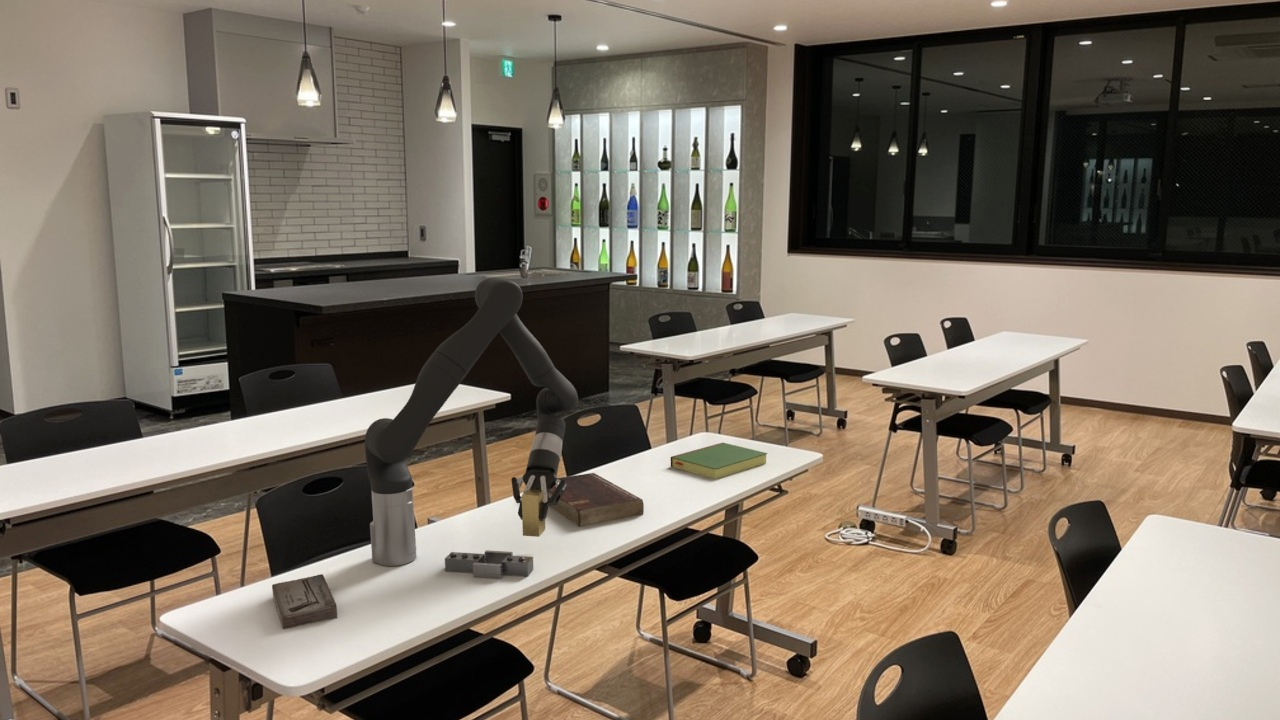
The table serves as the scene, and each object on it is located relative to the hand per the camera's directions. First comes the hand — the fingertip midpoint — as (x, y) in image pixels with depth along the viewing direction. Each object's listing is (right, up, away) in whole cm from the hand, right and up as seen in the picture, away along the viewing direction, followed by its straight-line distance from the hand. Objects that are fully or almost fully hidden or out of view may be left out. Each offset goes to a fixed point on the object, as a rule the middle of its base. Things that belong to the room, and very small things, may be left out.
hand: (531, 518), depth 220 cm
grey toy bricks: (-8, -10, -8) cm, 15 cm away
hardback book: (+11, -3, +37) cm, 38 cm away
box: (-44, -15, -26) cm, 53 cm away
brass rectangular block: (0, -4, +3) cm, 5 cm away
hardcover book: (+50, +4, +74) cm, 89 cm away
